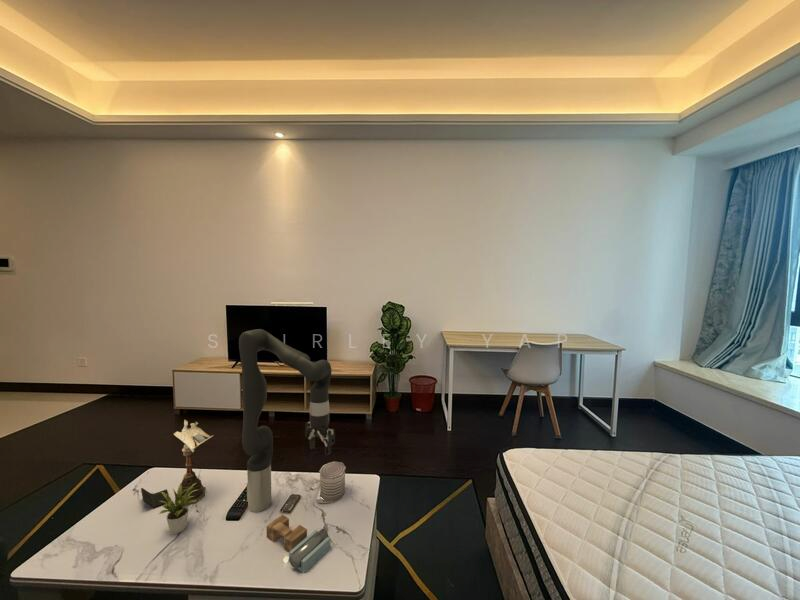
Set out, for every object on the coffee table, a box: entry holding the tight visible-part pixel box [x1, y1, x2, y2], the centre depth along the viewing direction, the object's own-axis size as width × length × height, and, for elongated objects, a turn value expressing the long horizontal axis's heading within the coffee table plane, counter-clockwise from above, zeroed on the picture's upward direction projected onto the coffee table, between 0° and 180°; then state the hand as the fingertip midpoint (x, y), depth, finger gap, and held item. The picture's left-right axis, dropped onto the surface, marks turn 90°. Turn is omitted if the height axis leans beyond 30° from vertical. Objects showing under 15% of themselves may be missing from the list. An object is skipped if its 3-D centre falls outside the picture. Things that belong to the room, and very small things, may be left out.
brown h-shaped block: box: [265, 514, 308, 553], centre depth 121 cm, size 14×7×6 cm, turn 57°
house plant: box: [158, 483, 197, 535], centre depth 125 cm, size 14×14×16 cm
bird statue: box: [173, 419, 215, 507], centre depth 143 cm, size 17×13×35 cm
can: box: [318, 461, 347, 503], centre depth 146 cm, size 11×11×12 cm
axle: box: [288, 528, 329, 569], centre depth 114 cm, size 14×4×4 cm, turn 147°
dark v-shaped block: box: [140, 487, 170, 510], centre depth 141 cm, size 12×7×10 cm
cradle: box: [288, 529, 332, 573], centre depth 114 cm, size 8×12×4 cm, turn 147°
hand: (319, 451), depth 129 cm, fingers open, 8 cm apart
